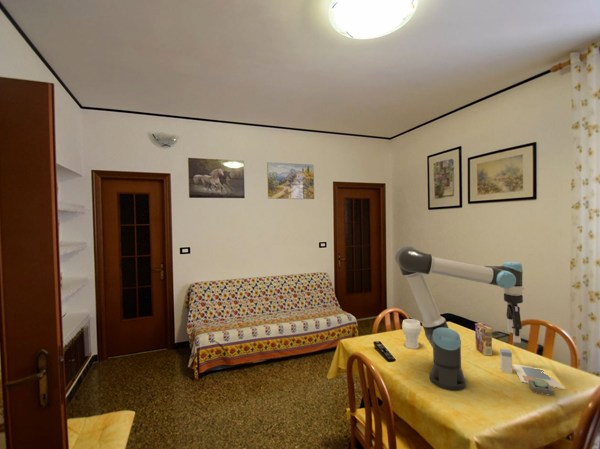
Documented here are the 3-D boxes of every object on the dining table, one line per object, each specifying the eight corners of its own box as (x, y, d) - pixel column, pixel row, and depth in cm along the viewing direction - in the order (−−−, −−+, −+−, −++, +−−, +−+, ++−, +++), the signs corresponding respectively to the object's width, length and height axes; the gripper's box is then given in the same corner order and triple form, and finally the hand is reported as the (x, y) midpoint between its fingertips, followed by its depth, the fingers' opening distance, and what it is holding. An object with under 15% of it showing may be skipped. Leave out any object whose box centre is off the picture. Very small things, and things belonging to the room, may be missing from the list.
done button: (536, 388, 128) (536, 382, 128) (533, 383, 132) (533, 377, 132) (548, 390, 126) (547, 384, 126) (544, 385, 130) (544, 379, 130)
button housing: (533, 392, 127) (533, 387, 127) (528, 384, 134) (528, 379, 134) (553, 395, 124) (553, 391, 124) (547, 387, 131) (547, 382, 131)
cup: (422, 344, 179) (422, 320, 179) (419, 351, 170) (418, 325, 170) (404, 341, 185) (404, 317, 185) (400, 347, 176) (400, 322, 176)
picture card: (521, 382, 135) (521, 380, 135) (512, 365, 151) (512, 363, 151) (566, 389, 128) (566, 388, 128) (551, 370, 145) (551, 369, 145)
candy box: (493, 355, 162) (492, 328, 163) (485, 356, 162) (484, 328, 162) (482, 348, 171) (481, 322, 171) (475, 349, 171) (474, 323, 171)
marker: (502, 372, 145) (501, 351, 145) (500, 368, 148) (500, 348, 148) (512, 373, 143) (511, 353, 143) (510, 369, 147) (509, 349, 147)
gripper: (529, 300, 130) (530, 348, 130) (516, 289, 153) (517, 329, 153) (508, 299, 134) (509, 345, 134) (499, 287, 156) (500, 327, 156)
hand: (513, 337), depth 143 cm, fingers open, 13 cm apart
